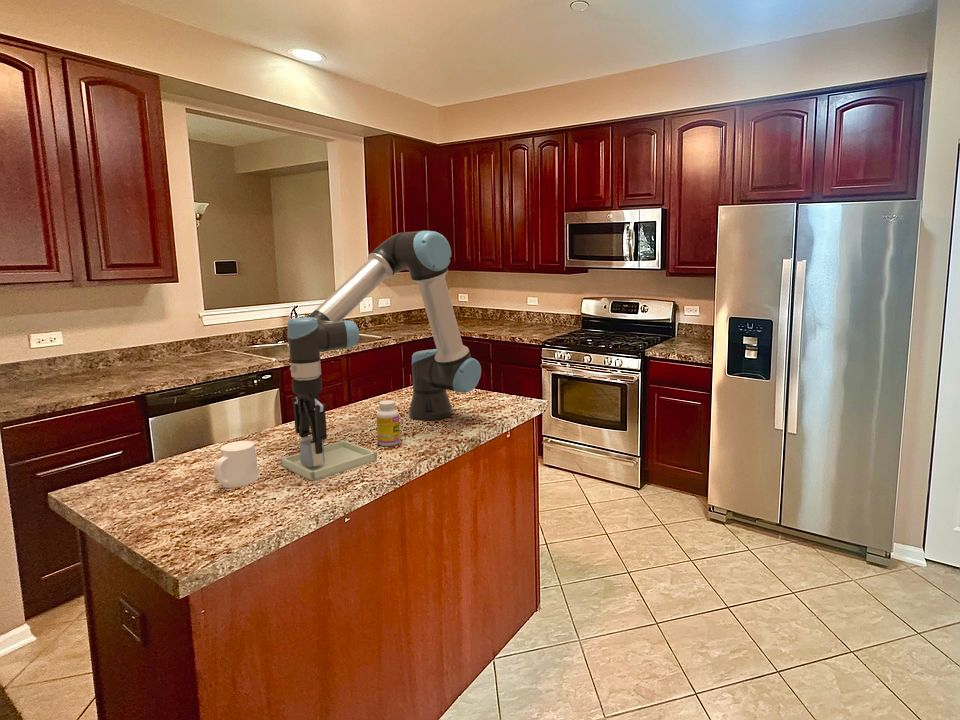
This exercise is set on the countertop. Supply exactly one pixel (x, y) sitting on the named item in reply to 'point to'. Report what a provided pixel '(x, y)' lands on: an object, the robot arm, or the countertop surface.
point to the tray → (331, 460)
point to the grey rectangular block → (308, 453)
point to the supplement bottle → (388, 424)
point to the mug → (237, 464)
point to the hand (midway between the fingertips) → (313, 462)
